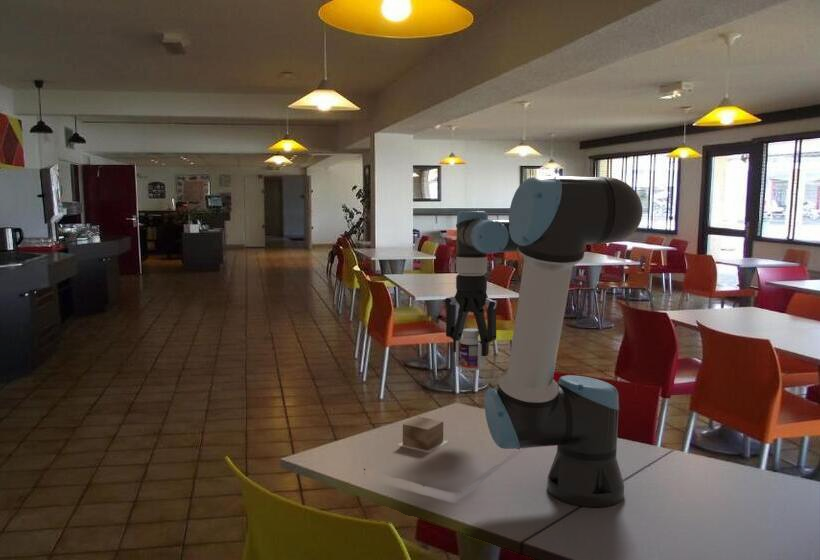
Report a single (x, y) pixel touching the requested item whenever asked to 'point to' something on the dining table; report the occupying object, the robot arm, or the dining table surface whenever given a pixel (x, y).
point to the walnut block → (423, 433)
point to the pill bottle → (469, 349)
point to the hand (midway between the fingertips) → (470, 366)
